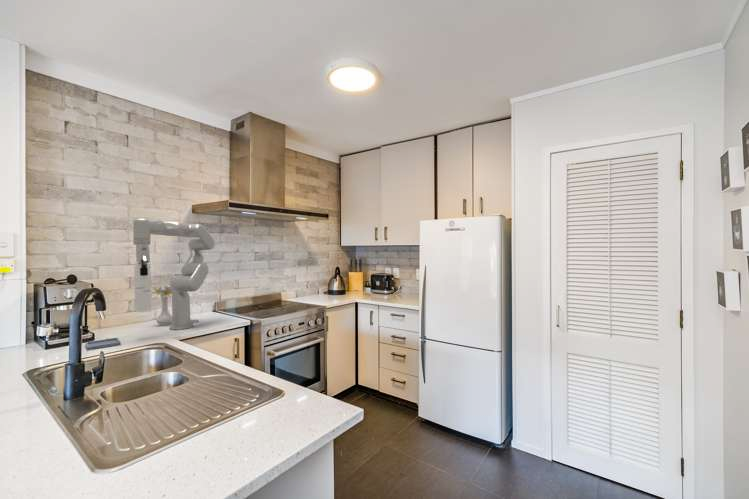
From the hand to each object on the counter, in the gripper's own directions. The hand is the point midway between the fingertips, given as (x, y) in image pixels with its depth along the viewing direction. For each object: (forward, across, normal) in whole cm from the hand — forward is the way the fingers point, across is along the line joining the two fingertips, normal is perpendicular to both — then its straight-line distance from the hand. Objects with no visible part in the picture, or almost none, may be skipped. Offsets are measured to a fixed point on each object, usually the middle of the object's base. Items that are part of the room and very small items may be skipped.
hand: (142, 274), depth 182 cm
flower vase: (+34, +32, -16) cm, 49 cm away
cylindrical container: (+19, 0, 0) cm, 19 cm away
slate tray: (+34, 0, +17) cm, 38 cm away
